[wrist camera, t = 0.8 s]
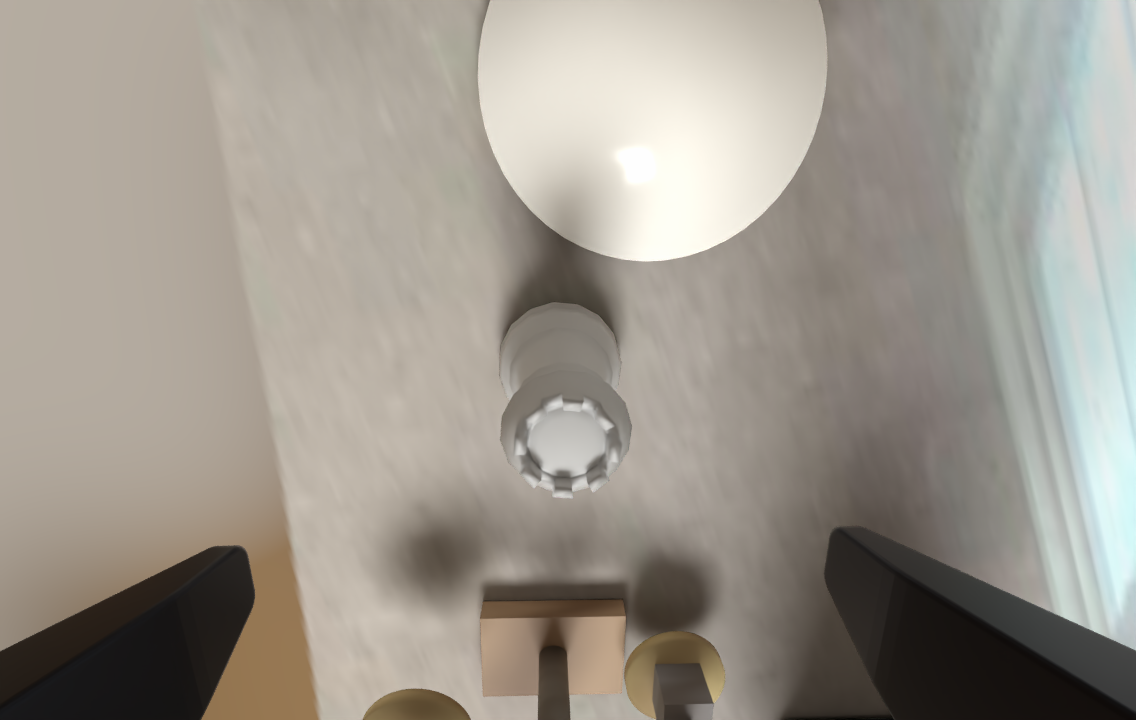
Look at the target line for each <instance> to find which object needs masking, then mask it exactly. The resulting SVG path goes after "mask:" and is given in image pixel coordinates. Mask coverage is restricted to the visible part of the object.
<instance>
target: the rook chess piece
mask: <svg viewBox="0 0 1136 720" xmlns="http://www.w3.org/2000/svg"><path fill="white" fill-rule="evenodd" d="M620 369H621V359H620V354H619V350H618V347H617V343H616V340H615V336H614V333H613V332H612V331H611V330H610V328H609V327H608V326H607V325H606V323H605V322H604V321H603V320H602V319H601V317H600V316H599V315H597V314H595V313H593V312H591V311H590V310H588V309H586V308H584V307H582V306H580V305H578V304H570V303H559V302H552V303H548V304H545V305H542V306H539V307H535V308H532V309H530V310H528V311H527V312H526V313H525V314H524V315H522V316H521V317H520V318H519V319H518V320H516V321H515V322H514V323H513V324H512V325H511V326H510V328H509V330H508V332H507V334H506V336H505V338H504V340H503V342H502V344H501V348H500V363H499V377H500V379H501V382H502V385H503V388H504V391H505V393H506V396H507V398H508V399H509V400H510V402H509V404H508V406H507V408H506V409H505V411H504V413H503V415H502V423H501V437H500V441H501V444H502V446H503V449H504V452H505V454H506V457H507V460H508V462H509V464H510V465H511V466H512V467H513V468H514V469H515V470H516V471H517V472H518V473H519V474H520V475H521V476H522V477H523V478H524V479H525V480H526V481H527V482H528V483H529V484H530V485H531V486H532V487H533V489H534V488H535V487H536V486H539V487H541V488H543V489H546V490H549V491H552V497H557V498H572V499H573V493H572V492H575V491H578V490H582V489H585V488H588V487H590V489H591V490H592V492H595V491H596V490H597V489H599V488H600V487H601V486H603V485H604V484H605V483H607V482H608V481H609V477H608V476H609V475H611V474H612V473H613V472H615V471H616V470H617V468H618V467H619V465H620V463H621V462H622V460H623V458H624V457H625V455H626V453H627V452H628V450H629V444H630V437H631V430H632V424H631V421H630V417H629V414H628V411H627V407H626V404H625V402H624V401H623V400H622V398H621V397H620V396H619V395H618V394H617V393H616V391H615V390H616V389H617V387H618V385H619V377H620Z"/></svg>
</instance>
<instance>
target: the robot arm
mask: <svg viewBox="0 0 1136 720" xmlns="http://www.w3.org/2000/svg"><path fill="white" fill-rule="evenodd" d="M824 575H825V582H826V585H827V588H828V591H829V593H830V595H831V597H832V599H833V601H834V603H835V605H836V607H837V609H838V612H839V614H840V616H841V618H842V620H843V622H844V624H845V626H846V628H847V631H848V633H849V635H850V637H851V639H852V641H853V643H854V645H855V647H856V650H857V652H858V654H859V656H860V658H861V660H862V662H863V664H864V666H865V668H866V670H867V672H868V674H869V676H870V678H871V680H872V682H873V684H874V686H875V688H876V689H877V691H878V693H879V695H880V696H881V698H882V700H883V702H884V703H885V705H886V707H887V708H888V710H889V712H890V713H891V715H892V717H893V718H886V719H848V720H1136V650H1134V649H1131V648H1129V647H1127V646H1125V645H1122V644H1120V643H1118V642H1116V641H1114V640H1111V639H1109V638H1107V637H1105V636H1103V635H1100V634H1098V633H1096V632H1094V631H1092V630H1089V629H1087V628H1085V627H1083V626H1080V625H1078V624H1076V623H1074V622H1072V621H1069V620H1067V619H1065V618H1063V617H1061V616H1058V615H1056V614H1054V613H1052V612H1050V611H1047V610H1045V609H1043V608H1041V607H1039V606H1036V605H1034V604H1032V603H1030V602H1027V601H1025V600H1023V599H1021V598H1019V597H1016V596H1014V595H1012V594H1010V593H1008V592H1005V591H1003V590H1001V589H999V588H997V587H994V586H992V585H990V584H988V583H986V582H983V581H981V580H979V579H977V578H974V577H972V576H970V575H968V574H966V573H963V572H961V571H959V570H957V569H955V568H952V567H950V566H948V565H946V564H944V563H941V562H939V561H937V560H935V559H933V558H930V557H928V556H926V555H924V554H921V553H919V552H917V551H915V550H913V549H910V548H908V547H906V546H904V545H902V544H899V543H897V542H895V541H893V540H891V539H888V538H886V537H884V536H882V535H880V534H877V533H875V532H873V531H871V530H868V529H866V528H864V527H861V526H842V527H836V528H834V529H833V530H832V532H831V534H830V538H829V544H828V551H827V557H826V564H825V571H824ZM254 599H255V589H254V584H253V579H252V574H251V569H250V564H249V559H248V554H247V552H246V550H245V549H244V548H243V547H242V546H238V545H236V546H235V545H234V546H214V547H211V548H208V549H206V550H204V551H202V552H200V553H198V554H196V555H194V556H192V557H190V558H188V559H186V560H184V561H182V562H180V563H178V564H176V565H174V566H172V567H170V568H168V569H166V570H164V571H162V572H160V573H158V574H156V575H154V576H152V577H150V578H148V579H145V580H144V581H142V582H140V583H138V584H135V585H133V586H131V587H129V588H127V589H125V590H123V591H121V592H120V593H117V594H115V595H113V596H111V597H109V598H107V599H105V600H103V601H101V602H99V603H97V604H95V605H93V606H91V607H89V608H87V609H85V610H83V611H81V612H79V613H77V614H75V615H73V616H71V617H69V618H66V619H64V620H62V621H60V622H58V623H56V624H54V625H52V626H50V627H48V628H46V629H44V630H42V631H40V632H38V633H36V634H34V635H32V636H30V637H28V638H26V639H24V640H22V641H20V642H18V643H16V644H14V645H12V646H10V647H8V648H6V649H4V650H2V651H0V720H201V719H202V717H203V715H204V713H205V711H206V709H207V707H208V705H209V703H210V701H211V698H212V696H213V695H214V692H215V690H216V688H217V686H218V683H219V681H220V679H221V677H222V675H223V672H224V670H225V668H226V666H227V664H228V661H229V659H230V657H231V655H232V652H233V650H234V648H235V646H236V644H237V642H238V639H239V637H240V635H241V633H242V630H243V628H244V626H245V624H246V622H247V619H248V617H249V615H250V613H251V610H252V608H253V604H254Z"/></svg>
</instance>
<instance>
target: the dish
mask: <svg viewBox="0 0 1136 720" xmlns="http://www.w3.org/2000/svg"><path fill="white" fill-rule="evenodd" d="M827 64H828V61H827V39H826V32H825V26H824V20H823V14H822V10H821V6H820V3H819V0H490V3H489V6H488V10H487V13H486V17H485V20H484V24H483V28H482V35H481V41H480V48H479V59H478V86H479V98H480V106H481V111H482V116H483V121H484V126H485V130H486V133H487V136H488V139H489V142H490V145H491V148H492V150H493V153H494V155H495V157H496V159H497V161H498V163H499V165H500V168H501V170H502V172H503V174H504V175H505V177H506V178H507V180H508V181H509V183H510V185H511V186H512V188H513V189H514V191H515V192H516V194H517V195H518V196H519V197H520V198H521V200H522V201H523V202H524V203H525V204H526V206H527V207H528V208H529V209H530V210H531V211H532V212H533V213H534V214H535V215H536V216H537V217H538V218H539V219H540V220H541V221H542V222H544V223H545V224H546V225H547V226H548V227H550V228H551V229H552V230H554V231H555V232H557V233H558V234H560V235H561V236H562V237H564V238H565V239H567V240H569V241H571V242H573V243H575V244H577V245H579V246H581V247H583V248H585V249H588V250H590V251H593V252H596V253H599V254H601V255H605V256H609V257H614V258H619V259H623V260H634V261H660V260H669V259H675V258H680V257H685V256H689V255H692V254H695V253H698V252H701V251H704V250H707V249H709V248H711V247H713V246H715V245H718V244H720V243H722V242H724V241H726V240H728V239H729V238H731V237H732V236H734V235H735V234H737V233H739V232H740V231H742V230H743V229H745V228H746V227H747V226H748V225H750V224H751V223H752V222H753V221H755V220H756V219H757V218H758V217H759V216H761V215H762V214H763V213H764V212H765V211H766V210H767V209H768V208H769V207H770V205H771V204H772V203H773V202H774V201H775V200H776V199H777V198H778V197H779V196H780V194H781V193H782V192H783V190H784V189H785V188H786V186H787V185H788V184H789V182H790V181H791V180H792V178H793V176H794V175H795V173H796V171H797V170H798V168H799V166H800V164H801V163H802V161H803V159H804V157H805V155H806V153H807V150H808V148H809V146H810V144H811V141H812V139H813V137H814V134H815V131H816V127H817V124H818V121H819V118H820V115H821V110H822V105H823V100H824V95H825V89H826V78H827Z"/></svg>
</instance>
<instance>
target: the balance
mask: <svg viewBox="0 0 1136 720" xmlns="http://www.w3.org/2000/svg"><path fill="white" fill-rule="evenodd" d="M625 625H626V614H625V609H624V604H623V599H613V600H550V601H487V602H483V604H482V611H481V617H480V628H481V657H482V686H483V697H486V696H529V695H538V720H570V701H569V695H571V694H614V693H622V681H623V663H624V644H625ZM624 676H625V683H626V689H627V694H628V696H629V699H630V701H631V702H632V704H633V705H634V706H635V707H636V708H637V709H638V710H639V711H640V712H642V713H643V714H645V715H647V716H649V717H651V718H654V719H656V720H712V715H713V706H714V702H715V701H716V700H717V699H718V697H719V696H720V694H721V692H722V690H723V687H724V683H725V670H724V667H723V664H722V662H721V659H720V656H719V654H718V652H717V650H716V649H715V647H714V646H713V645H712V644H711V643H710V642H709V641H707V640H706V639H705V638H703V637H701V636H699V635H696V634H693V633H690V632H684V631H671V632H665V633H661V634H657V635H655V636H653V637H650V638H649V639H647V640H645V641H644V642H642V643H641V644H640V645H639V646H637V647H636V648H635V650H634V651H633V652H632V653H631V655H630V656H629V658H628V660H627V663H626V666H625V672H624ZM363 720H471V719H470V717H469V715H468V713H467V712H466V711H465V709H464V708H463V707H462V706H461V705H460V704H459V703H457V702H456V701H455V700H453V699H452V698H450V697H448V696H446V695H444V694H442V693H439V692H436V691H432V690H426V689H405V690H400V691H396V692H393V693H390V694H388V695H386V696H384V697H382V698H380V699H379V700H378V701H376V702H375V703H374V704H373V705H372V706H371V707H370V708H369V709H368V711H367V712H366V714H365V715H364V717H363Z"/></svg>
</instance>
